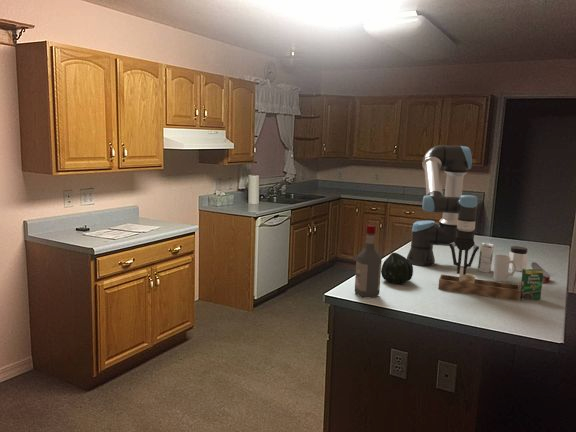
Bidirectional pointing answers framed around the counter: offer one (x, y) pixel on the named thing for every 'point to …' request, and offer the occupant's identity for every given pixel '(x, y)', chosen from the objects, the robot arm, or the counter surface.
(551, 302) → the counter surface
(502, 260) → the mug
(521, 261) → the jar
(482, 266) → the syrup box
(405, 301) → the counter surface
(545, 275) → the canned food
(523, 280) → the coffee box
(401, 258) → the squash
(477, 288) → the box
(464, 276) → the birch block
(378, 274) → the liquor
